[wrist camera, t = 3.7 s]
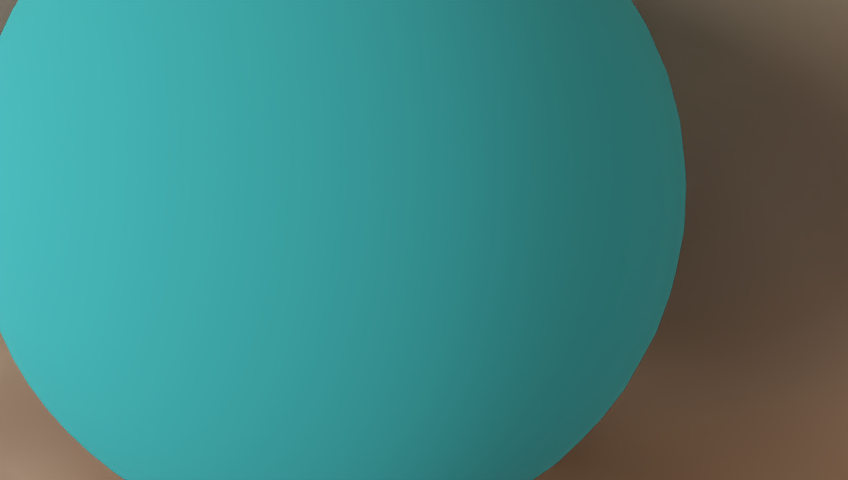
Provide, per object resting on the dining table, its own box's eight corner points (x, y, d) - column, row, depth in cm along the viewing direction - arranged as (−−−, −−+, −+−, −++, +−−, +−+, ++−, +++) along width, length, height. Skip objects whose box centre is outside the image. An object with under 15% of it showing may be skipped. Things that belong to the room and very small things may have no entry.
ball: (204, -231, 8) (-457, -318, 3) (747, -102, 8) (1023, 48, 3) (186, 230, 11) (-160, 569, 6) (574, 343, 11) (547, 810, 6)
